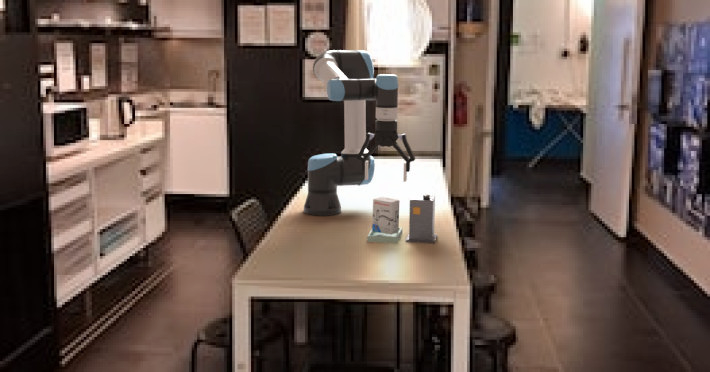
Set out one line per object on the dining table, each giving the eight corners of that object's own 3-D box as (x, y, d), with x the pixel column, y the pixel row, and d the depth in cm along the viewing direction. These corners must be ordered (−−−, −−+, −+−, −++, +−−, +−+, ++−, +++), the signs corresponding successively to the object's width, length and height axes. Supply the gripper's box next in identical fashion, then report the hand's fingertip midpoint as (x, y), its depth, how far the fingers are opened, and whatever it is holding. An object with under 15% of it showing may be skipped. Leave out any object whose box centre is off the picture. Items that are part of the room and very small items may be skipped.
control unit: (405, 241, 272) (406, 196, 269) (409, 234, 281) (409, 191, 278) (434, 243, 270) (435, 197, 267) (437, 236, 279) (438, 192, 276)
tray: (367, 241, 272) (367, 235, 271) (373, 231, 286) (373, 226, 285) (396, 243, 270) (397, 237, 270) (402, 233, 284) (402, 227, 283)
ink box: (371, 231, 278) (371, 198, 276) (379, 228, 282) (380, 196, 280) (391, 234, 273) (391, 201, 271) (399, 232, 277) (400, 199, 275)
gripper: (348, 119, 269) (348, 180, 273) (421, 121, 264) (420, 183, 268) (352, 117, 276) (352, 177, 280) (423, 119, 272) (422, 179, 276)
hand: (385, 180), depth 274 cm, fingers open, 13 cm apart
